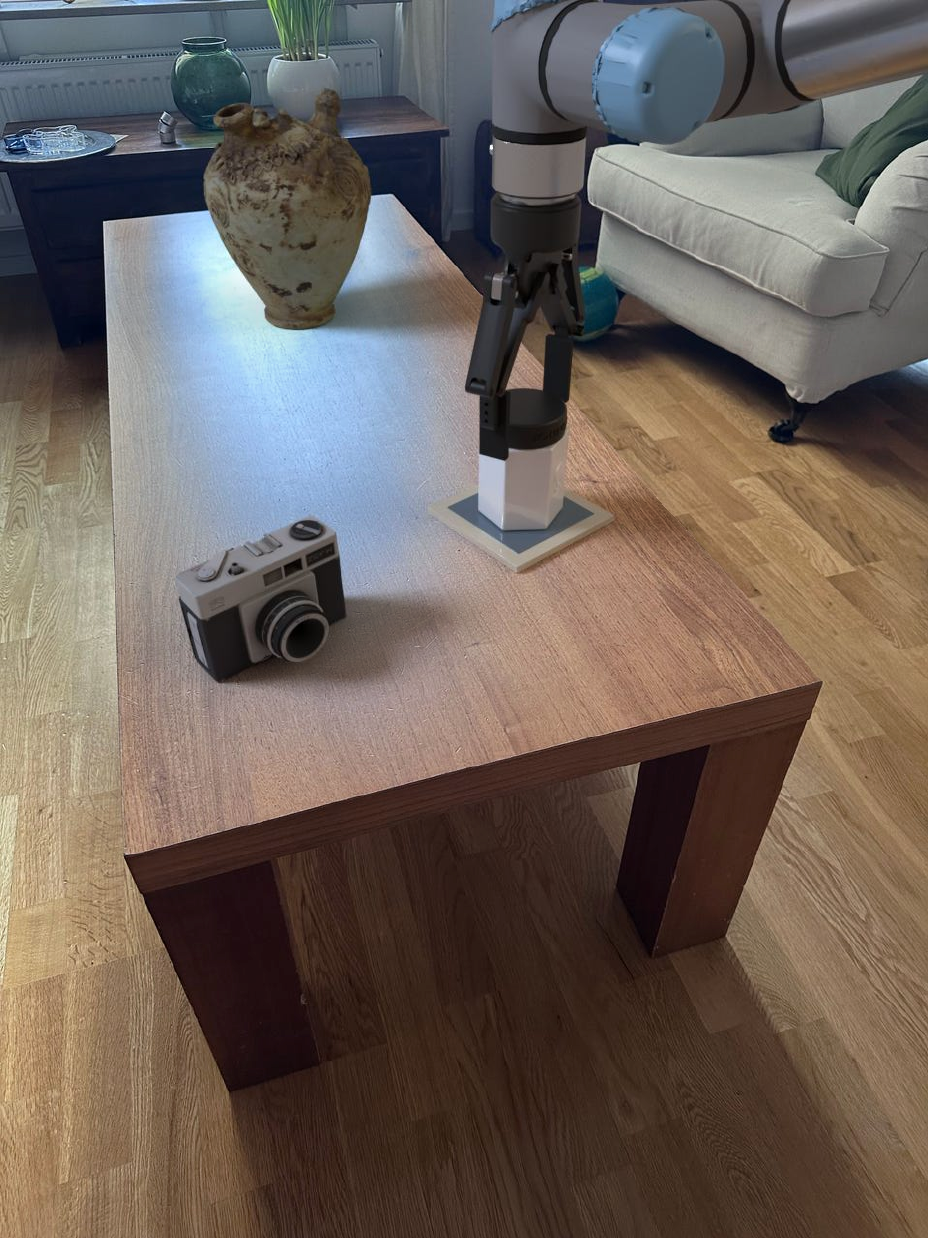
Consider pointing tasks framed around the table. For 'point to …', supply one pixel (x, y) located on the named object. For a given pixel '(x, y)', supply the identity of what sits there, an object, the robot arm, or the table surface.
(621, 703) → the table surface
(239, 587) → the camera
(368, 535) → the table surface
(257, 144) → the vase
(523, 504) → the jar
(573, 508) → the tile
